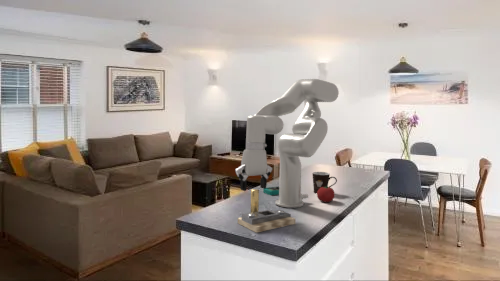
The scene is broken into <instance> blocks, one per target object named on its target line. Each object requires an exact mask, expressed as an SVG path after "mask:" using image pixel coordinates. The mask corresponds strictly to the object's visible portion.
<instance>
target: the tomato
mask: <svg viewBox="0 0 500 281" xmlns="http://www.w3.org/2000/svg"><path fill="white" fill-rule="evenodd" d="M335 194H336V193H335V191H334V189H333V188H332V187H329V186H328V187H327V186H326V187H321V188H320V189H319V190H318V191H317V194H316V197H317V199H318V200H319V201H321V202H322V203H329V202H332V201H333V200H334V199H335V196H336V195H335Z"/></svg>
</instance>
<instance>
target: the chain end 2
mask: <svg viewBox="0 0 500 281" xmlns="http://www.w3.org/2000/svg"><path fill="white" fill-rule="evenodd" d="M274 211H275V212H277V213H280V217H275V218H270V219H265V220H264V222H268V221H273V220H278V219H283V218H287V217H292V215H291V213H290V212H286V211H284V210H281V209H278V210H274ZM263 215H265V216H266V215H271V214H268V213H266V214H263Z"/></svg>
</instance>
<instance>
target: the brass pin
mask: <svg viewBox="0 0 500 281" xmlns="http://www.w3.org/2000/svg"><path fill="white" fill-rule="evenodd" d="M259 196H260V189H257V188H253V189H250V213H253V212H258V211H260V210H259V209H260V208H259V207H260V204H259V203H260V202H259V199H260V197H259Z"/></svg>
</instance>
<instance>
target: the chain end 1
mask: <svg viewBox="0 0 500 281" xmlns="http://www.w3.org/2000/svg"><path fill="white" fill-rule="evenodd" d="M275 211H276V210H271V209H265V210H264V209H263V210H259V211H258V212H253V213H251V212H249V213H244V214H243V213H242V214H241V217H242V220H243V221H245V222H247V223H249V224H251V225H254V224H259V223H263V222H264V220H265V219H270V218H275V217H280V213H277V212H275ZM266 213H268V214H271V215H266V216H265V215H263V214H266Z"/></svg>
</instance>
